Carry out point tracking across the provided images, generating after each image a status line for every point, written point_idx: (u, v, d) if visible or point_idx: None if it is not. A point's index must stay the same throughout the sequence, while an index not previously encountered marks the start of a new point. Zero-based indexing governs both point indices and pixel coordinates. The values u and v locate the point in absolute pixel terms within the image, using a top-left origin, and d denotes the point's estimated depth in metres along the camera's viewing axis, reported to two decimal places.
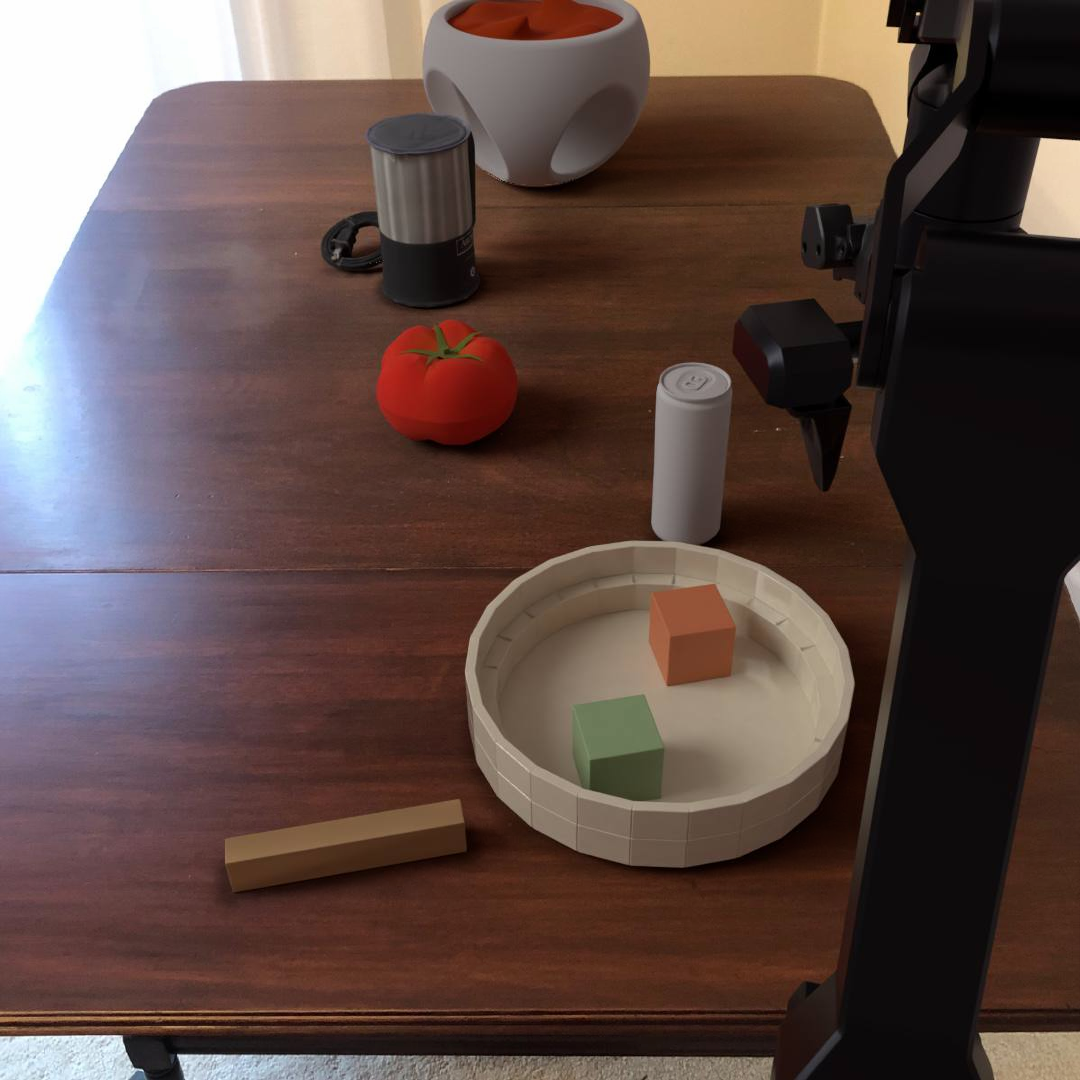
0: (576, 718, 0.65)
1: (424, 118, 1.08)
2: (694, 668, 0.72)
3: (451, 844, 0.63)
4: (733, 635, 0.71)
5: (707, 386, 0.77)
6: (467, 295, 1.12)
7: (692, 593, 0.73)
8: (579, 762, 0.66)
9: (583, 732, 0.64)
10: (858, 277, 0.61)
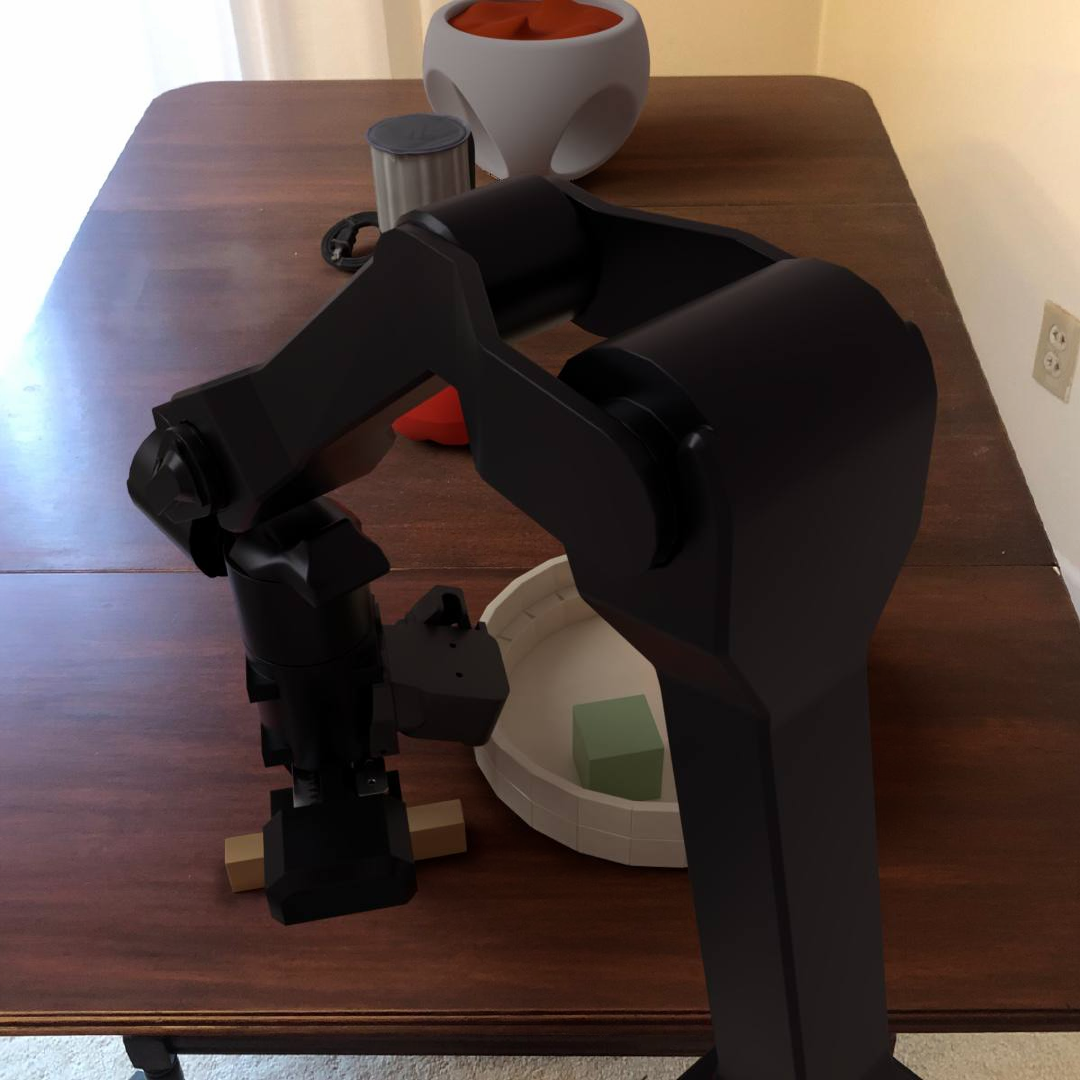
0: (576, 718, 0.65)
1: (424, 118, 1.08)
2: None
3: (451, 844, 0.63)
4: None
5: None
6: None
7: None
8: (579, 762, 0.66)
9: (583, 732, 0.64)
10: None
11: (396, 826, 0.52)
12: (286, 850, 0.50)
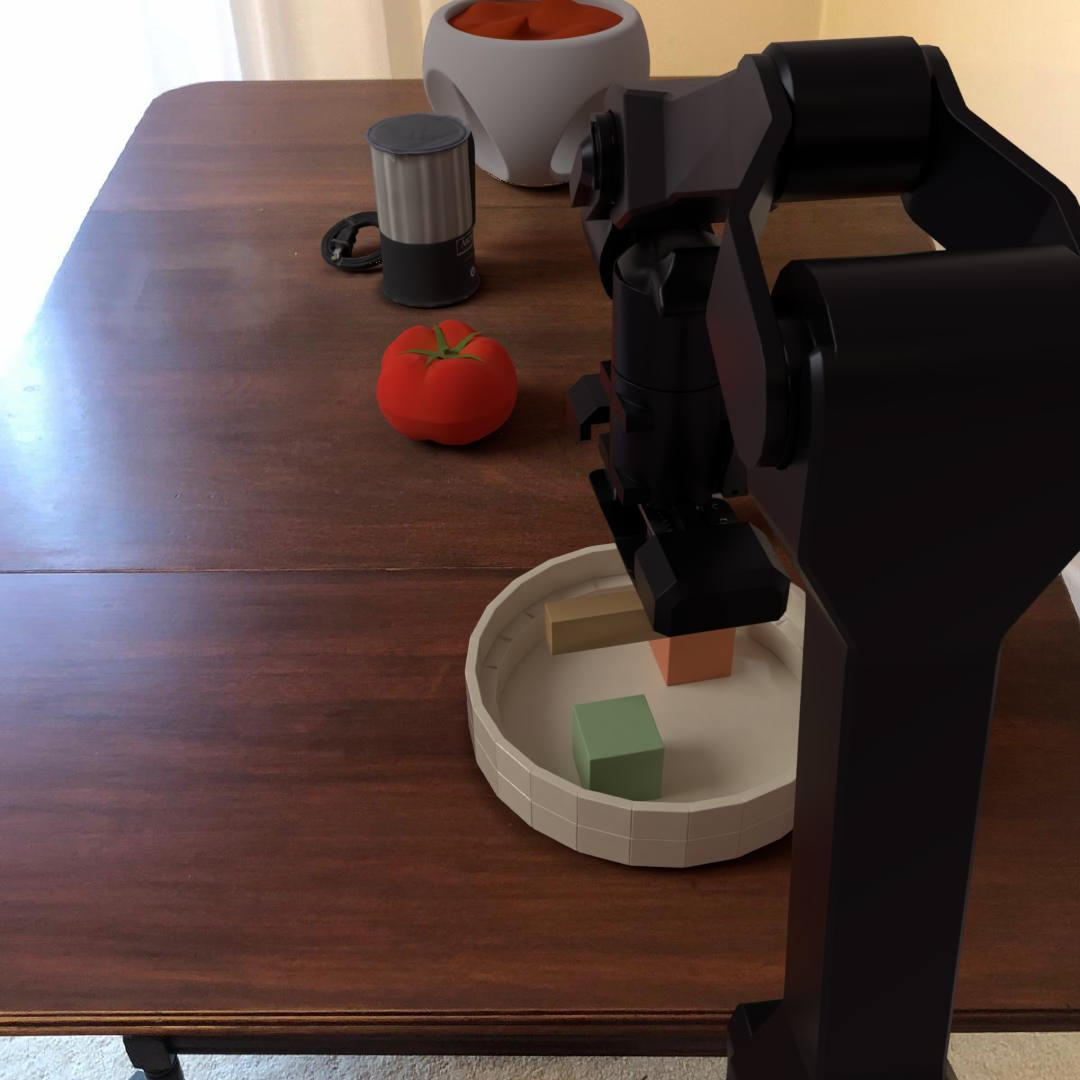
0: (576, 718, 0.65)
1: (424, 118, 1.08)
2: (694, 668, 0.72)
3: None
4: (733, 635, 0.71)
5: None
6: (467, 295, 1.12)
7: None
8: (579, 762, 0.66)
9: (583, 732, 0.64)
10: None
11: (767, 548, 0.54)
12: (672, 563, 0.53)
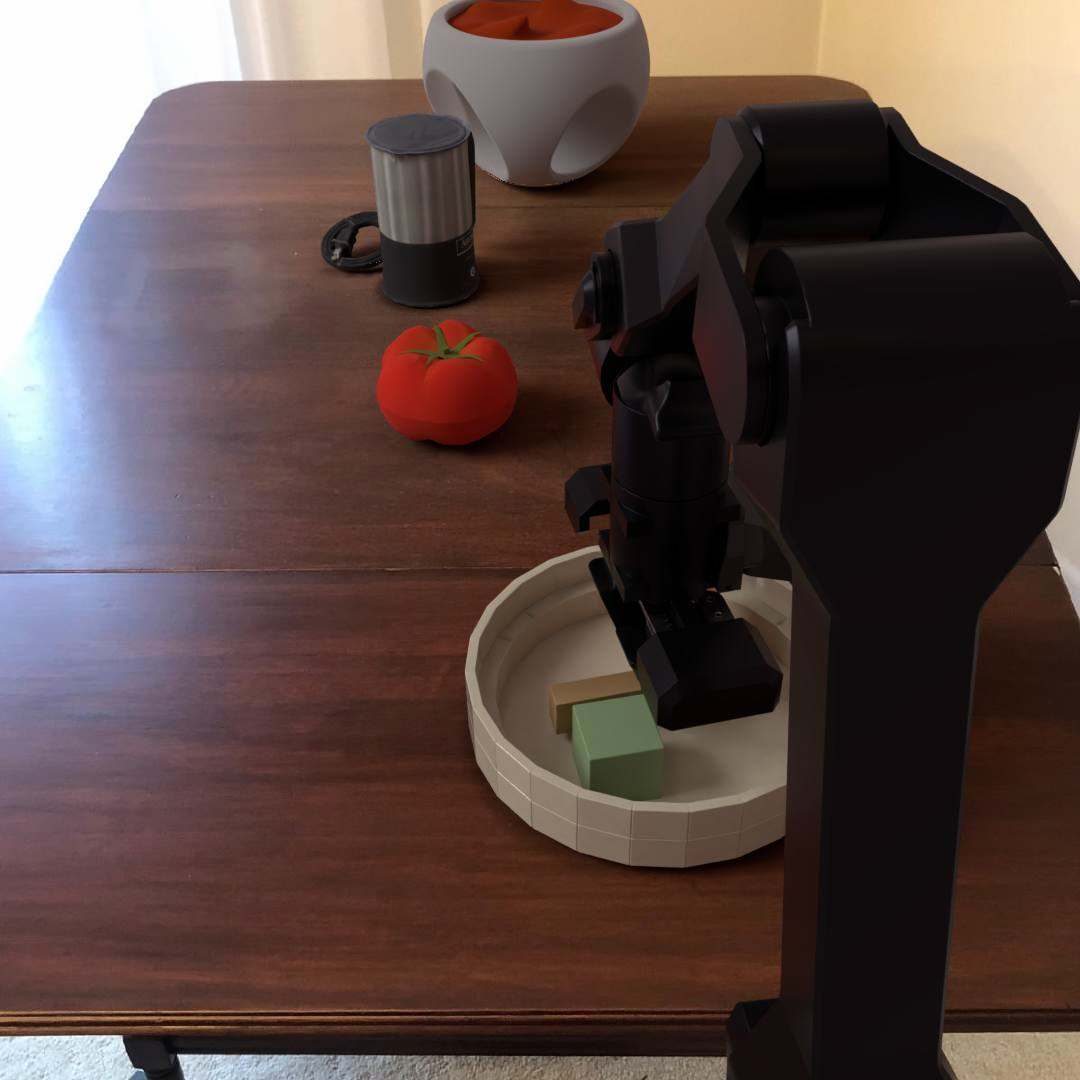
0: (576, 718, 0.65)
1: (424, 118, 1.08)
2: None
3: None
4: None
5: None
6: (467, 295, 1.12)
7: None
8: (579, 762, 0.66)
9: (583, 732, 0.64)
10: None
11: (760, 644, 0.58)
12: (673, 663, 0.57)
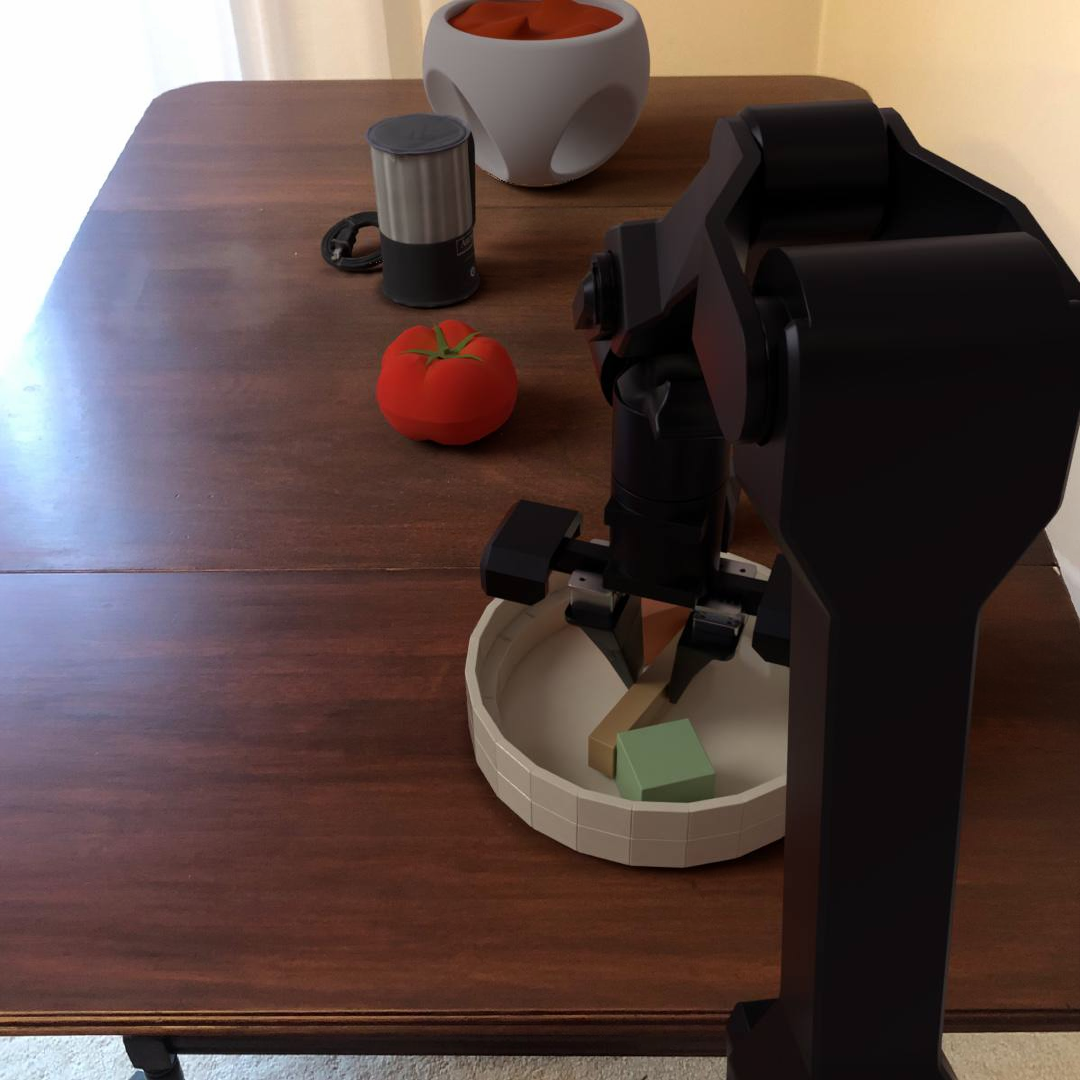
0: (622, 746, 0.63)
1: (424, 118, 1.08)
2: (658, 647, 0.73)
3: None
4: None
5: None
6: (467, 295, 1.12)
7: None
8: (625, 791, 0.64)
9: (631, 760, 0.62)
10: None
11: None
12: None
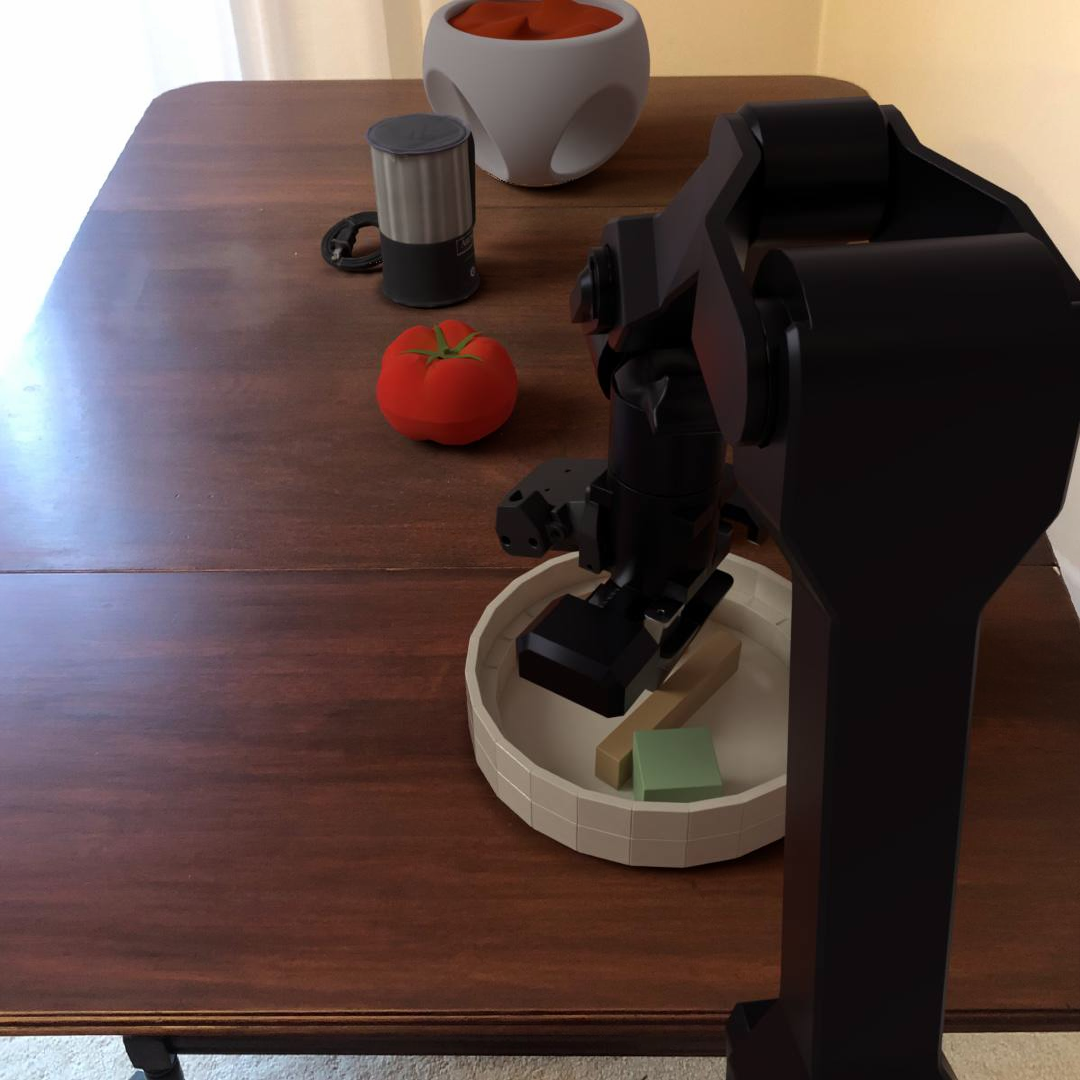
0: (636, 745, 0.63)
1: (424, 118, 1.08)
2: None
3: (732, 667, 0.72)
4: None
5: None
6: (467, 295, 1.12)
7: None
8: (636, 789, 0.64)
9: (640, 759, 0.62)
10: (583, 552, 0.62)
11: None
12: None
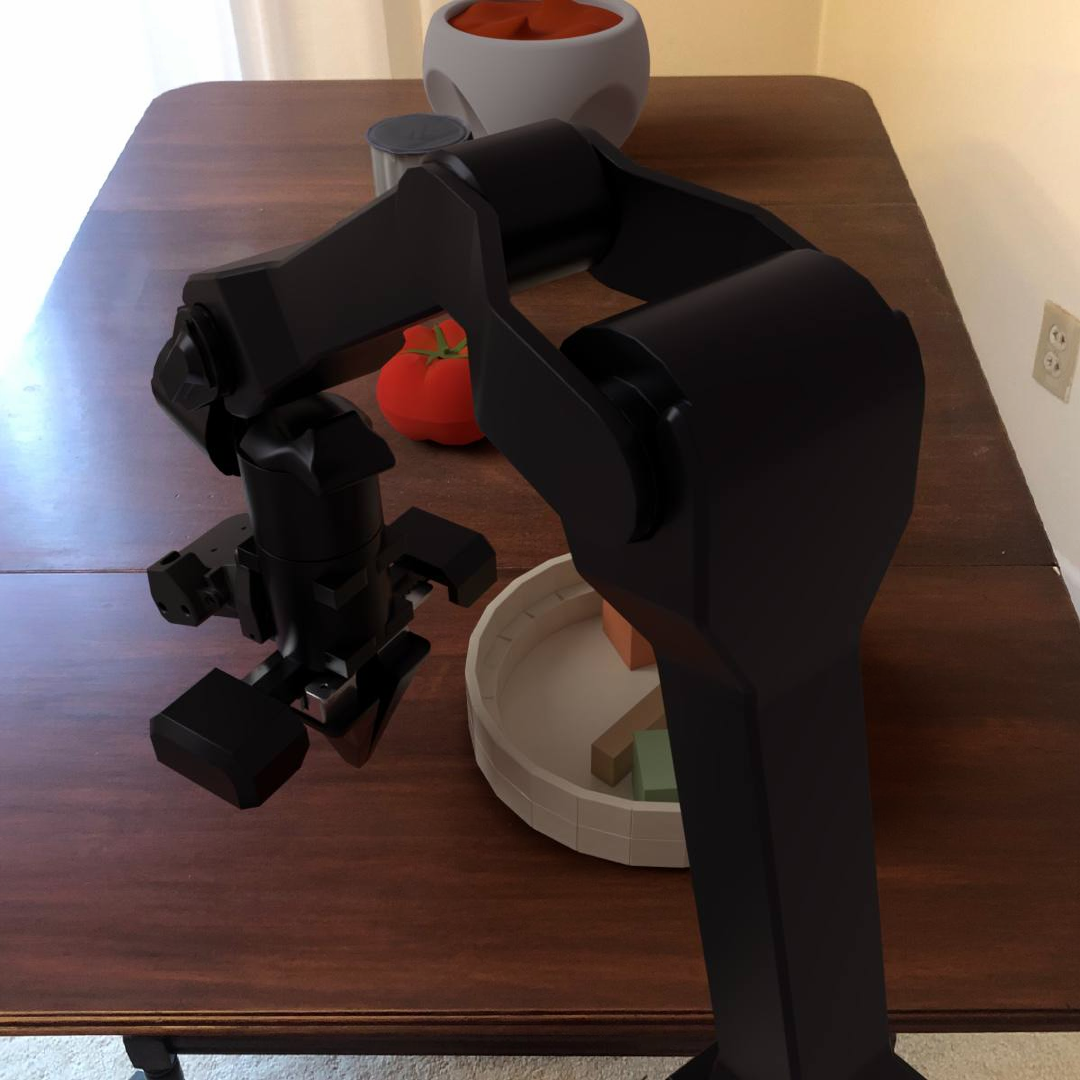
0: (636, 745, 0.63)
1: (424, 118, 1.08)
2: None
3: None
4: None
5: None
6: None
7: None
8: (636, 790, 0.64)
9: (641, 759, 0.62)
10: (242, 620, 0.56)
11: (387, 525, 0.63)
12: (465, 544, 0.61)
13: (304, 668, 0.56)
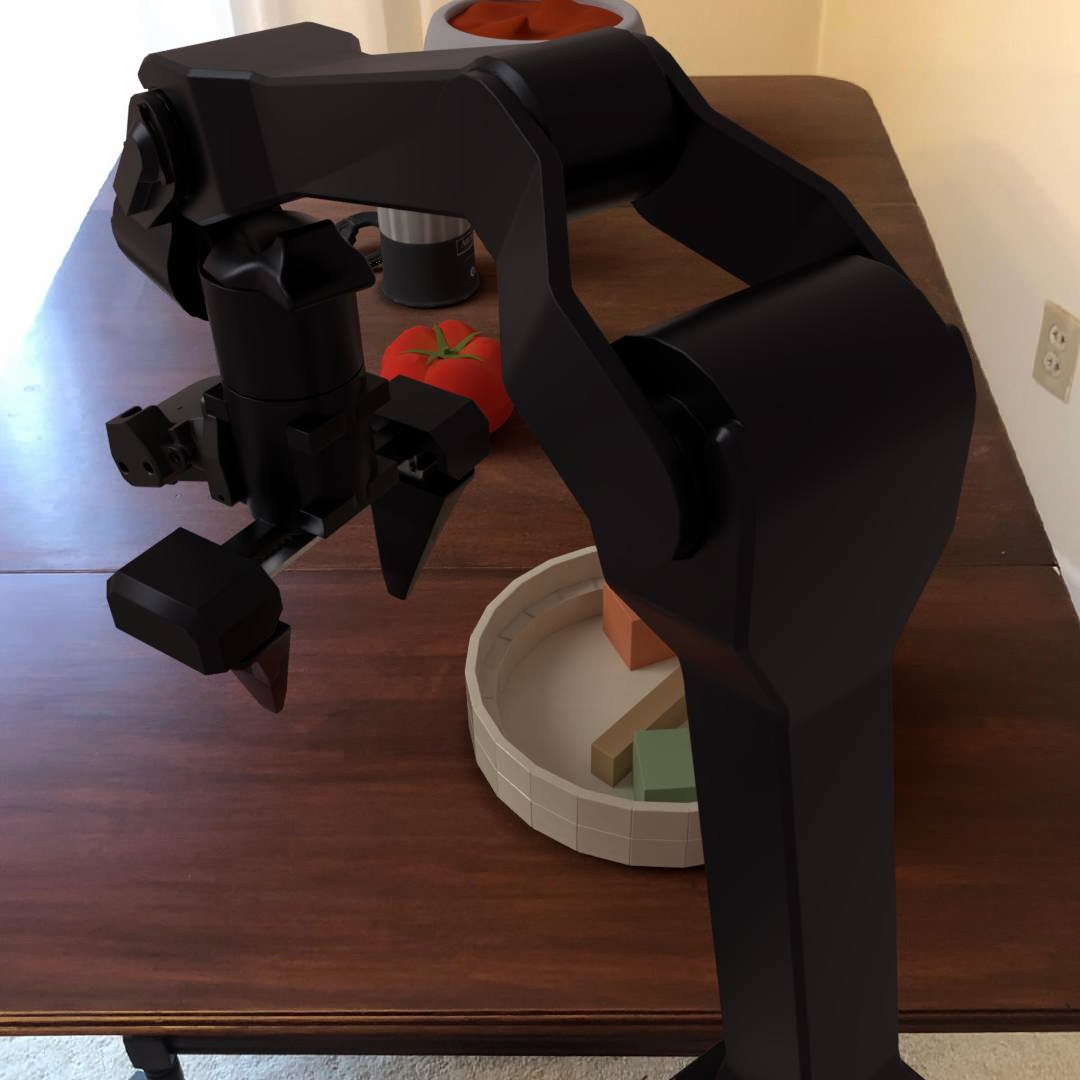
0: (636, 745, 0.63)
1: None
2: (655, 649, 0.73)
3: None
4: None
5: None
6: (467, 295, 1.12)
7: None
8: (636, 790, 0.64)
9: (641, 759, 0.62)
10: (211, 480, 0.51)
11: None
12: (455, 409, 0.56)
13: (278, 531, 0.51)
